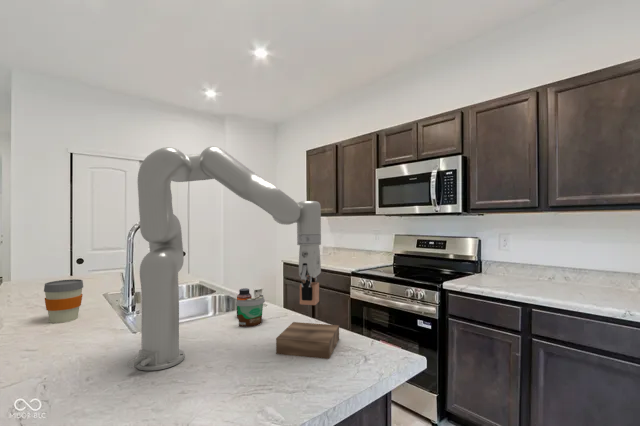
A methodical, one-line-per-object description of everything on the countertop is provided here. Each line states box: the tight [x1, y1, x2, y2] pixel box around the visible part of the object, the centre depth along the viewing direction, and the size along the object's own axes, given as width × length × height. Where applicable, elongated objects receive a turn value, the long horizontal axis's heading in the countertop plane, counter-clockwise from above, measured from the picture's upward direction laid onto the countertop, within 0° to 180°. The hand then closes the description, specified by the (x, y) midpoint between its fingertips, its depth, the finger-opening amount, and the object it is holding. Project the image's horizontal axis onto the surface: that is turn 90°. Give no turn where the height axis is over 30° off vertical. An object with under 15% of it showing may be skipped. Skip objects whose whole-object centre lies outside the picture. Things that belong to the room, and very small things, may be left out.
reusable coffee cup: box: [43, 278, 84, 324], centre depth 132 cm, size 13×13×15 cm
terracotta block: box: [299, 281, 320, 306], centre depth 104 cm, size 5×5×6 cm
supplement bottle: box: [236, 287, 253, 318], centre depth 135 cm, size 6×6×11 cm
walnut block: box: [275, 321, 340, 360], centre depth 104 cm, size 16×16×5 cm
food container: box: [235, 294, 266, 328], centre depth 126 cm, size 12×6×10 cm, turn 143°
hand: (309, 297), depth 104 cm, fingers closed on terracotta block, 5 cm apart
